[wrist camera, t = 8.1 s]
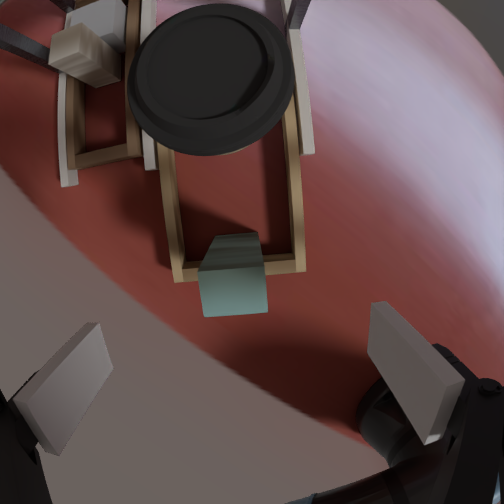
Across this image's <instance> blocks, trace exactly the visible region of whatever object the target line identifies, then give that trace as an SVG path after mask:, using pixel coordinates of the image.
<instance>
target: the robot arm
mask: <svg viewBox="0 0 504 504" xmlns="http://www.w3.org/2000/svg"><path fill="white" fill-rule="evenodd" d="M367 353H368V355H369V357H370V358H371V360H372V361H373V363H374V364H375V366H376V367H377V369H378V371H379V372H380V374H381V375H382V378H381V379H380V380H379V381H377V382H376V383H375V384H374V385H373V386H372V387H371V388H370V390H369V391H368V392H367V393H366V395H365V396H364V397H363V399H362V401H361V402H360V404H359V407H358V409H357V413H356V423H357V426H358V428H359V431H360V433H361V435H362V437H363V438H364V440H365V441H366V442H368V443H369V444H370V445H371V446H372V447H373V448H374V449H375V450H376V451H377V452H378V453H379V454H380V455H382V456H383V457H384V458H385V459H386V461H387V463H388V465H389V467H390V468H389V469H387V470H385V471H382V472H379V473H377V474H374V475H372V476H369V477H367V478H364V479H361V480H359V481H356V482H353V483H350V484H347V485H344V486H341V487H338V488H335V489H332V490H329V491H325V492H322V493H314V494H312V495H311V496H309V497H305V498H302V499H298V500H295V501H291V502H288V503H285V504H496V503H498V501H499V500H500V501H501V504H504V386H503V387H502V385H501V384H500V383H499V382H497V381H495V380H493V379H489V378H481V379H478V378H477V377H476V376H475V375H474V374H473V373H472V372H471V371H470V370H469V369H468V368H467V367H466V366H465V365H464V364H463V363H462V362H460V360H459V359H458V358H457V357H456V356H454V354H453V353H452V352H451V351H450V350H449V349H448V348H446V347H444V346H442V345H440V344H438V343H437V344H433V345H431V344H430V343H429V342H428V341H427V340H426V339H425V338H424V337H423V336H422V335H421V334H420V333H419V332H418V331H417V330H416V329H415V328H413V327H412V326H411V325H410V324H409V323H408V322H407V321H406V320H405V319H404V318H403V317H402V316H401V315H400V314H399V313H398V312H397V311H396V310H395V309H394V308H393V307H391V306H390V305H389V304H388V303H387V302H386V301H383V302H376V303H371V315H370V328H369V339H368V349H367ZM113 369H114V368H113V365H112V363H111V360H110V357H109V354H108V351H107V347H106V344H105V341H104V338H103V334H102V332H101V328H100V324H99V323H86V324H85V325H84V326H83V327H82V328H81V329H80V330H79V331H78V332H77V333H76V334H75V335H74V336H73V337H72V338H71V339H70V340H69V341H68V342H67V343H66V344H65V345H64V346H63V347H62V348H61V349H60V350H59V351H58V352H57V353H56V354H55V355H54V356H53V357H52V358H51V359H50V360H49V361H48V362H47V363H46V364H45V365H44V366H43V367H42V368H41V369H40V370H38V371H37V372H35V373H34V374H33V375H32V376H31V377H30V378H29V379H28V381H26V382H25V383H24V385H23V386H22V387H21V388H20V389H19V390H18V391H17V392H16V393H15V394H14V395H13V396H12V397H11V399H10V400H9V401H8V402H7V401H6V399H5V397H4V395H3V393H2V391H1V389H0V504H52V501H51V498H50V494H49V491H48V487H47V484H46V480H45V476H44V473H43V469H42V465H41V460H40V456H39V452H38V450H37V449H36V447H35V446H36V444H37V443H38V442H39V443H40V445H41V446H42V448H43V449H44V450H45V452H48V453H51V454H54V455H57V456H60V454H61V452H62V451H63V449H64V447H65V446H66V444H67V442H68V441H69V439H70V437H71V436H72V434H73V432H74V430H75V429H76V427H77V425H78V424H79V422H80V421H81V419H82V417H83V416H84V414H85V413H86V411H87V409H88V408H89V406H90V405H91V403H92V401H93V400H94V398H95V397H96V395H97V394H98V392H99V390H100V389H101V387H102V386H103V384H104V383H105V381H106V380H107V378H108V377H109V375H110V373H111V372H112V370H113Z"/></svg>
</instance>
